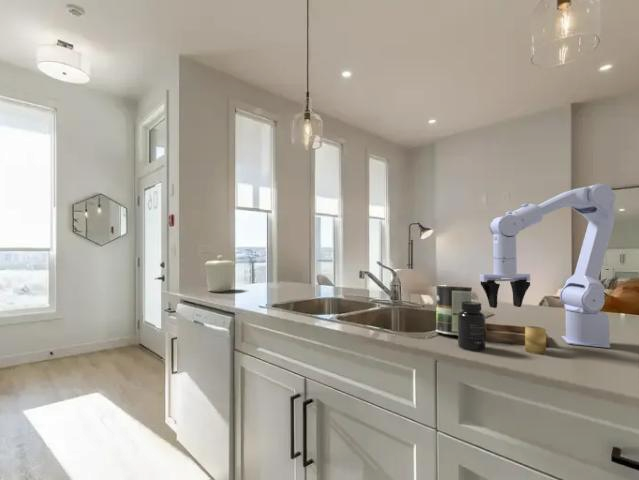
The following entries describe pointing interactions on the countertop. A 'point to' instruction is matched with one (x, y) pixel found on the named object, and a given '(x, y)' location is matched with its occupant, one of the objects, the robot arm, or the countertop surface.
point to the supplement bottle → (471, 327)
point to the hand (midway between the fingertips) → (505, 306)
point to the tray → (508, 334)
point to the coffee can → (450, 307)
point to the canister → (219, 274)
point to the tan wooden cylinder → (535, 340)
